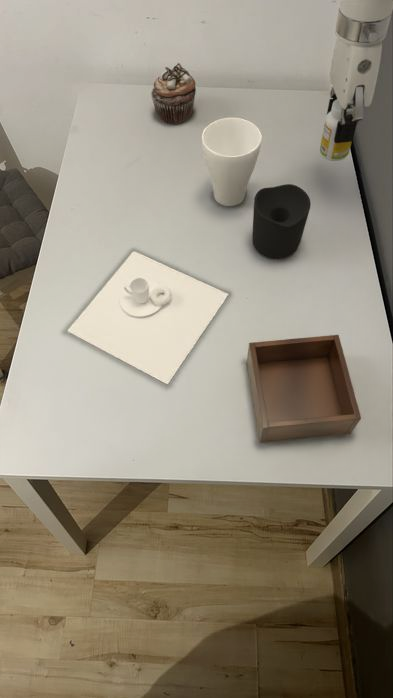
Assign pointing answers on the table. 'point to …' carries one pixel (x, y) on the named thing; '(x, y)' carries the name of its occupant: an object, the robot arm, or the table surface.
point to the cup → (230, 157)
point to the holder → (301, 389)
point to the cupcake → (174, 95)
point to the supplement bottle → (328, 145)
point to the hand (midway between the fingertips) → (339, 129)
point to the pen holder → (279, 220)
